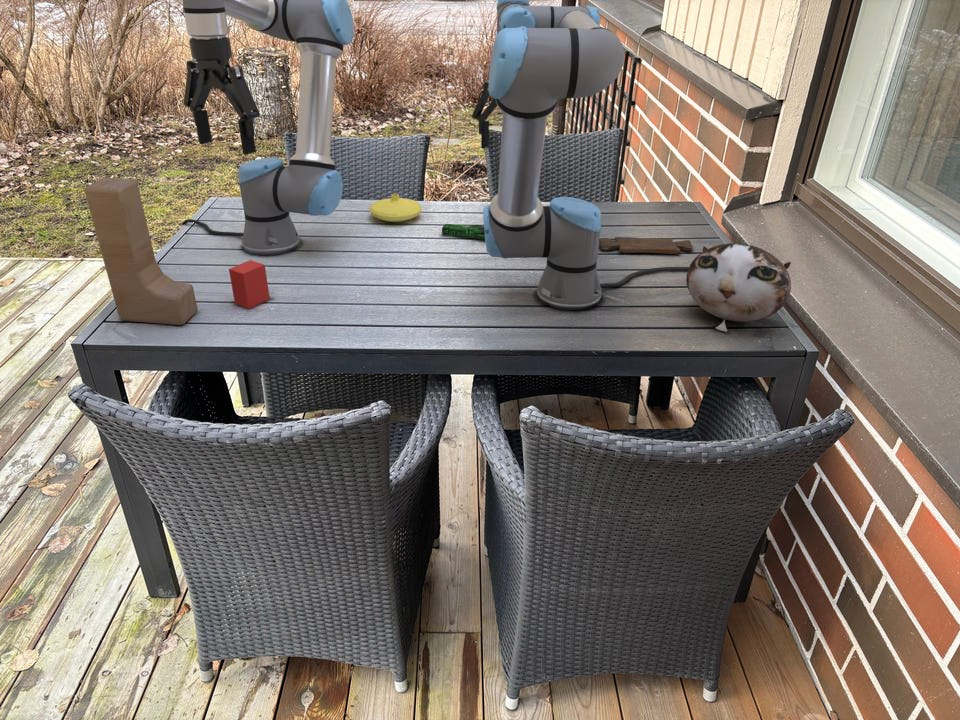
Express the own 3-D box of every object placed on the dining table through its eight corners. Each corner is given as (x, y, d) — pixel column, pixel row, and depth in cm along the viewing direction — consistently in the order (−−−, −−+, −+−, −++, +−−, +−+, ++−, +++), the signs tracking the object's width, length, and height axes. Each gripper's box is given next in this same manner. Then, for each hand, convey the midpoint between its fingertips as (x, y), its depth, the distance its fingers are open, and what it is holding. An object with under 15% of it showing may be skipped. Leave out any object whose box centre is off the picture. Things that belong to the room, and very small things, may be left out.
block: (270, 299, 168) (264, 264, 164) (248, 309, 164) (242, 273, 159) (256, 294, 170) (250, 259, 166) (234, 303, 166) (228, 268, 161)
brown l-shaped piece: (183, 326, 156) (152, 191, 140) (118, 321, 157) (81, 187, 142) (199, 311, 162) (172, 180, 147) (137, 306, 164) (103, 176, 148)
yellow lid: (393, 205, 227) (392, 183, 223) (432, 216, 219) (432, 193, 215) (359, 219, 216) (357, 196, 212) (398, 230, 208) (397, 207, 204)
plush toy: (664, 307, 155) (693, 222, 157) (679, 329, 171) (705, 252, 172) (770, 332, 145) (800, 241, 146) (775, 353, 160) (802, 271, 162)
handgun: (511, 219, 210) (493, 234, 198) (511, 228, 211) (492, 244, 199) (461, 212, 215) (440, 226, 203) (461, 221, 217) (440, 236, 204)
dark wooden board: (696, 256, 194) (688, 243, 203) (697, 250, 194) (689, 237, 202) (601, 253, 195) (597, 240, 203) (602, 247, 194) (598, 234, 202)
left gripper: (268, 40, 135) (283, 153, 146) (184, 30, 146) (203, 135, 157) (237, 44, 129) (254, 161, 140) (151, 33, 141) (173, 142, 152)
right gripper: (564, 65, 171) (558, 154, 182) (473, 56, 181) (472, 141, 192) (552, 70, 165) (546, 161, 177) (458, 60, 175) (458, 147, 186)
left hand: (227, 147), depth 149 cm, fingers open, 13 cm apart
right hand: (508, 151), depth 184 cm, fingers open, 13 cm apart
